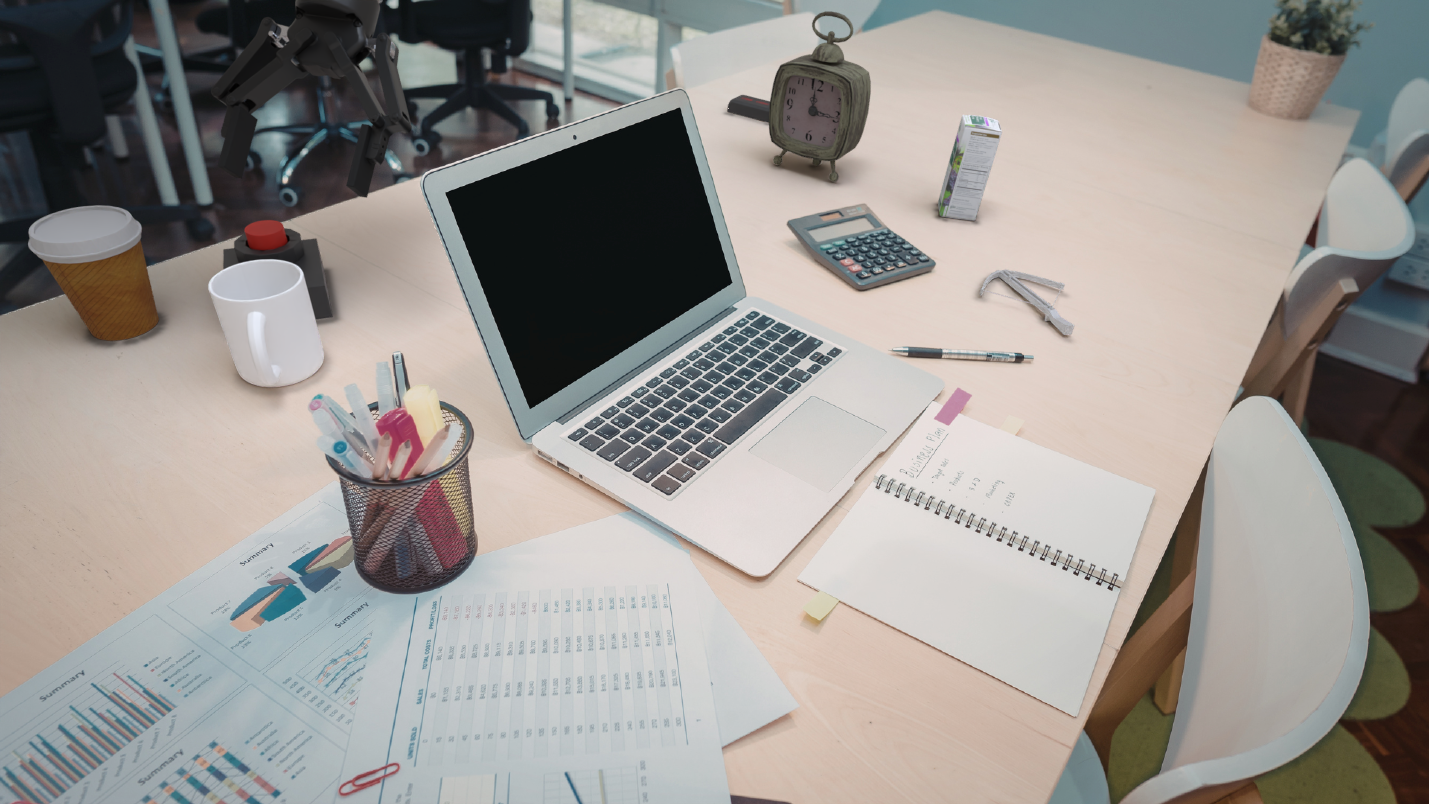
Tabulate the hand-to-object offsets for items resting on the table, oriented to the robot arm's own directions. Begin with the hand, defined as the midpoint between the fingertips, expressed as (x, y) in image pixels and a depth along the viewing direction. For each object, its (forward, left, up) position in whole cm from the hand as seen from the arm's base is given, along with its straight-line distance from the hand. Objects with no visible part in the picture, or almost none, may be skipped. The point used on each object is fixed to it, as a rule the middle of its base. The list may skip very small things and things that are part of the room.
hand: (292, 182), depth 81 cm
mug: (+9, -5, -17) cm, 20 cm away
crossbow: (+22, +84, -17) cm, 89 cm away
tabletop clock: (-27, +79, -17) cm, 85 cm away
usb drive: (-54, +83, -17) cm, 100 cm away
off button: (-11, -4, -11) cm, 16 cm away
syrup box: (-5, +93, -17) cm, 95 cm away
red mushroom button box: (-8, -4, -17) cm, 19 cm away
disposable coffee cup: (-7, -20, -17) cm, 27 cm away
